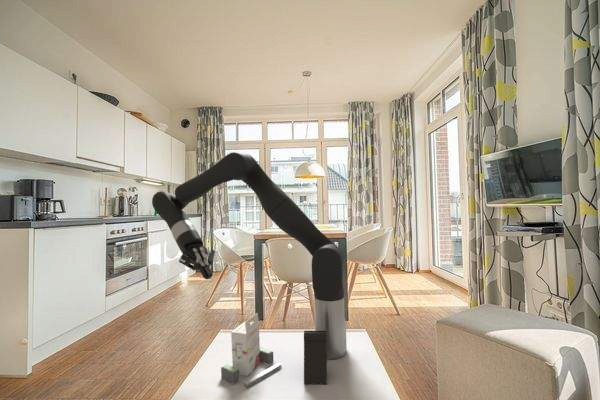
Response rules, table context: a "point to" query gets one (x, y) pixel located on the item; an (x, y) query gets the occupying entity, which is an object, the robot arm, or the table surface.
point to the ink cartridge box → (246, 346)
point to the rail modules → (232, 373)
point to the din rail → (262, 375)
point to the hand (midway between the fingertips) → (209, 277)
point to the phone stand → (315, 357)
